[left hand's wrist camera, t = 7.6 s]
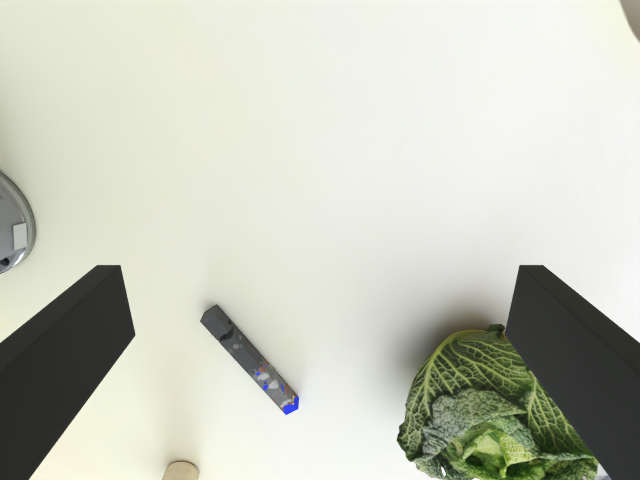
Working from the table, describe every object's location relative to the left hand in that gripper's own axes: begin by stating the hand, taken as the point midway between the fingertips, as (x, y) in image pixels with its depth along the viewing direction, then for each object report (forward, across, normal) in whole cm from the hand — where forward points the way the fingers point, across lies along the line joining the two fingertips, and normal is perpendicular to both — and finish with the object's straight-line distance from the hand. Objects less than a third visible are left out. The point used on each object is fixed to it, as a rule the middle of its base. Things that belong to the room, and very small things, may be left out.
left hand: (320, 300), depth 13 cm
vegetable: (+34, -21, +30) cm, 50 cm away
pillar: (+34, +10, +30) cm, 46 cm away
